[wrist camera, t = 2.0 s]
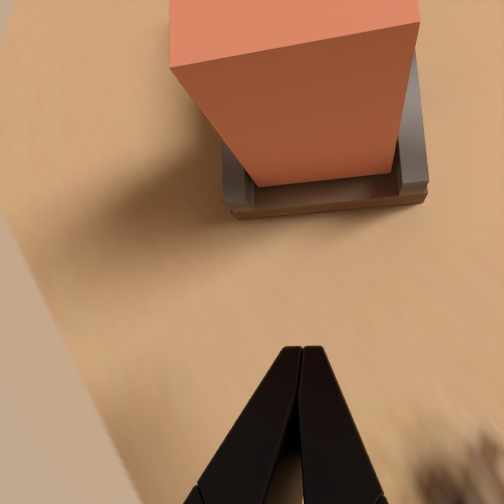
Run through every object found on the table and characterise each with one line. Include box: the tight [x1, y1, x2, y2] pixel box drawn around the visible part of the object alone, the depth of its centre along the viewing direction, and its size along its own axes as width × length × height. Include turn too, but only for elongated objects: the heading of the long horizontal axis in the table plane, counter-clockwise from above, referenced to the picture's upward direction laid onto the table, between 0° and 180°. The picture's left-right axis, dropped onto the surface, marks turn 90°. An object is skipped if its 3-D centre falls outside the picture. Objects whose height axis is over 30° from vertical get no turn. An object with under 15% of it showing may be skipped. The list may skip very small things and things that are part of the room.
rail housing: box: [222, 50, 429, 219], centre depth 21 cm, size 14×9×4 cm, turn 2°
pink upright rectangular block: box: [169, 0, 420, 187], centre depth 15 cm, size 4×6×10 cm, turn 92°
